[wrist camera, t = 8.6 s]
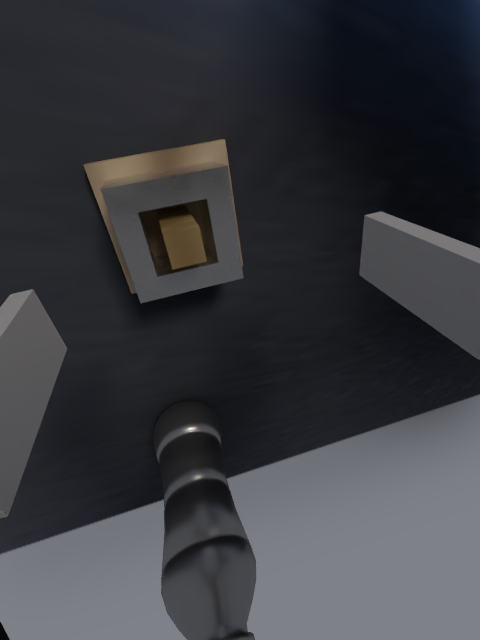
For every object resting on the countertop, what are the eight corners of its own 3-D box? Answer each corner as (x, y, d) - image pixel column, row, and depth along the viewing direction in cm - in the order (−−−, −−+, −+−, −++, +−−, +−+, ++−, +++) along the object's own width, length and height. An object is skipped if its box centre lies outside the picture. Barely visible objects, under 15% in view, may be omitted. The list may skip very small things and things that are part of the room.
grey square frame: (213, 160, 21) (227, 165, 18) (228, 258, 25) (243, 277, 21) (106, 179, 20) (100, 189, 16) (140, 279, 24) (140, 303, 20)
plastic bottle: (226, 407, 34) (309, 660, 18) (183, 444, 36) (224, 714, 19) (184, 381, 31) (238, 665, 14) (138, 423, 32) (139, 731, 16)
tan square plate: (221, 139, 21) (253, 142, 16) (239, 261, 26) (269, 298, 20) (85, 163, 20) (64, 176, 14) (131, 288, 25) (130, 335, 19)
